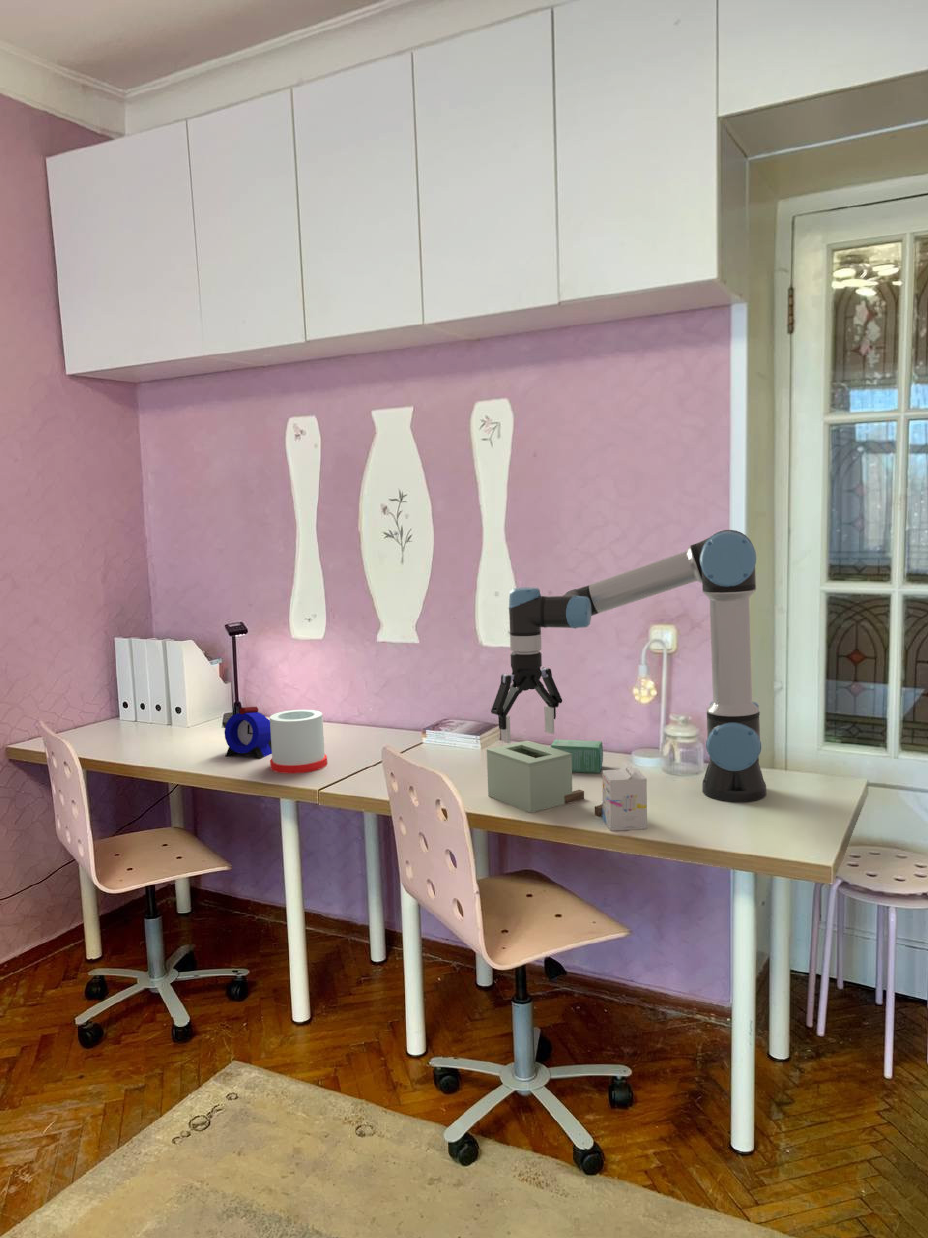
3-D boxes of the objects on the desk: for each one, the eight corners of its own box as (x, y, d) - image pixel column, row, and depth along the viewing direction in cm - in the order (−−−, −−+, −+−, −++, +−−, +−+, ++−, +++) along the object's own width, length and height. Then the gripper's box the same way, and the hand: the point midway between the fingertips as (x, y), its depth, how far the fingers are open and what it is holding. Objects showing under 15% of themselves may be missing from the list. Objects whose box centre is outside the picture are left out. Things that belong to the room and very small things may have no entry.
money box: (572, 801, 231) (571, 753, 230) (530, 813, 224) (529, 763, 222) (529, 785, 245) (527, 740, 244) (488, 796, 238) (486, 749, 236)
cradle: (618, 811, 223) (618, 802, 223) (599, 816, 220) (599, 808, 219) (579, 797, 234) (579, 789, 234) (561, 802, 231) (561, 794, 231)
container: (259, 770, 268) (255, 719, 267) (292, 756, 283) (289, 707, 281) (306, 775, 262) (303, 723, 260) (337, 760, 276) (335, 711, 274)
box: (600, 773, 254) (600, 746, 253) (550, 772, 257) (549, 745, 256) (603, 766, 261) (603, 739, 260) (554, 765, 264) (553, 738, 263)
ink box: (601, 818, 218) (600, 762, 217) (637, 816, 219) (637, 760, 217) (610, 831, 210) (609, 772, 208) (648, 829, 210) (647, 770, 209)
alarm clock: (223, 757, 284) (220, 708, 282) (247, 747, 295) (244, 699, 293) (258, 760, 279) (255, 710, 278) (281, 749, 291) (278, 701, 289)
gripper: (555, 644, 240) (557, 726, 243) (474, 656, 226) (477, 743, 229) (575, 647, 234) (576, 731, 236) (493, 659, 220) (496, 749, 223)
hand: (528, 737), depth 233 cm, fingers open, 13 cm apart
